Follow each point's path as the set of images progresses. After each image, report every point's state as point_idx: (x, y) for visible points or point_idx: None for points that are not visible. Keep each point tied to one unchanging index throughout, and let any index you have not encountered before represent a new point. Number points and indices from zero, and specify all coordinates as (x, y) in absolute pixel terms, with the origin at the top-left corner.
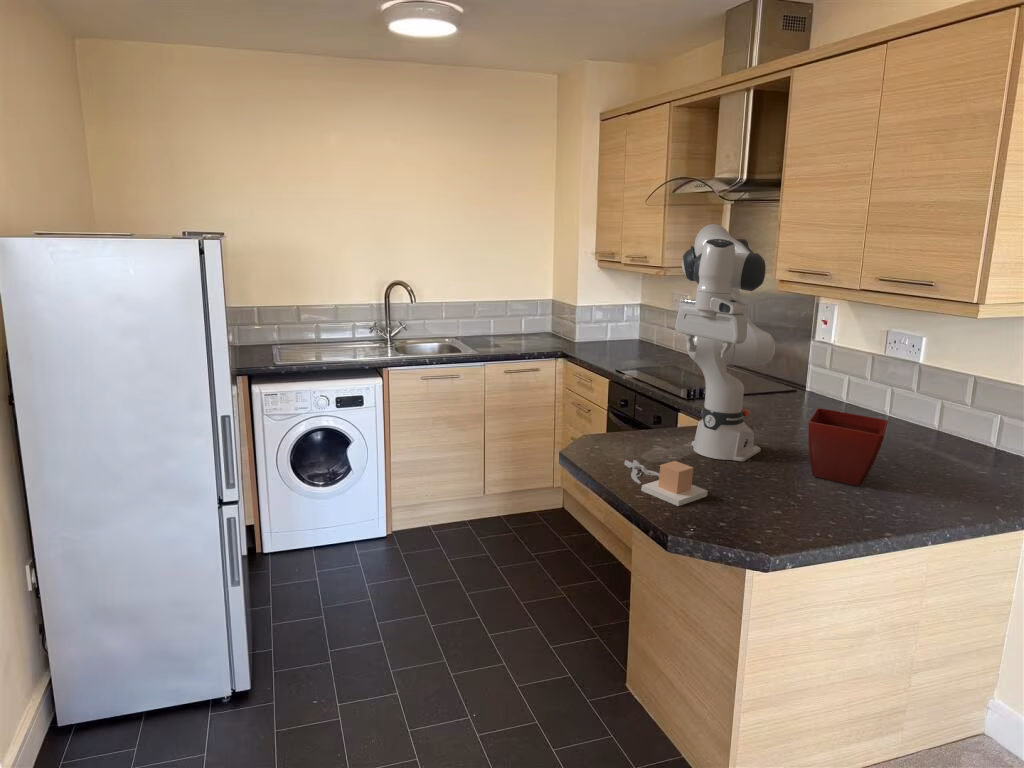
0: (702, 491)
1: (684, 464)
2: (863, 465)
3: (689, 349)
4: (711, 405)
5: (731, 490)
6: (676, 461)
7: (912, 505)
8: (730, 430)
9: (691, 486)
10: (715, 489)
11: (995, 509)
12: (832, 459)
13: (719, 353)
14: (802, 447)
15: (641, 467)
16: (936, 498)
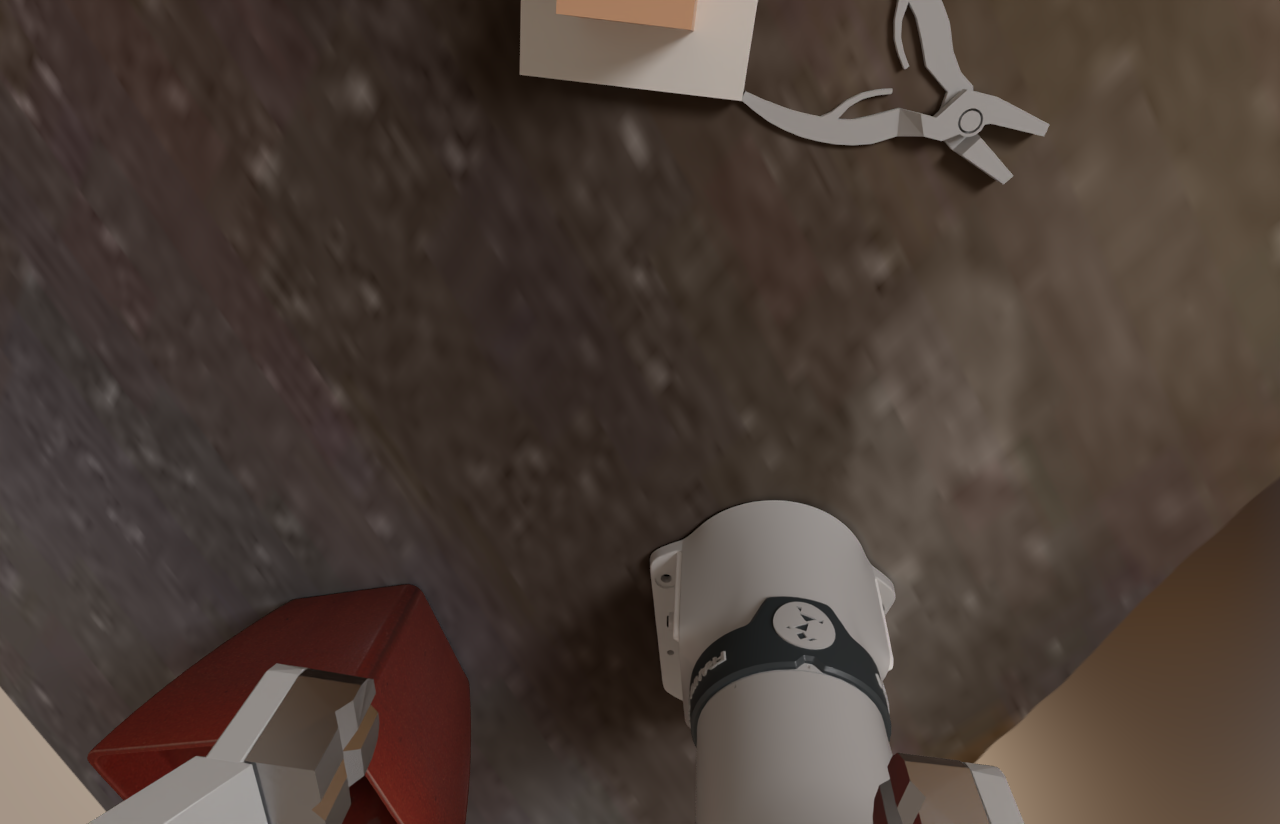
0: (529, 42)
1: (619, 17)
2: (229, 646)
3: (978, 787)
4: (820, 696)
5: (505, 237)
6: (678, 25)
7: (128, 570)
8: (707, 626)
9: (599, 59)
10: (551, 189)
11: (35, 682)
12: (321, 634)
13: (301, 730)
14: (594, 787)
15: (930, 116)
16: (141, 659)
